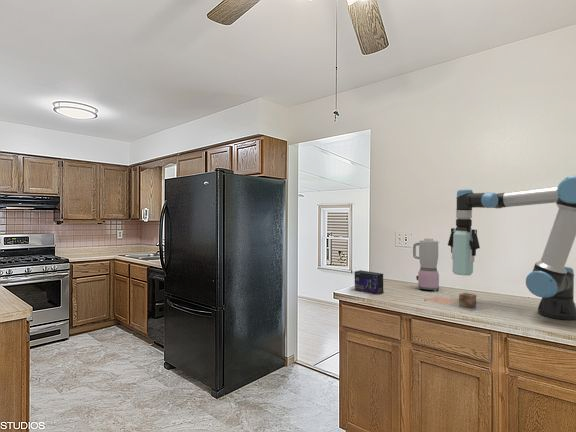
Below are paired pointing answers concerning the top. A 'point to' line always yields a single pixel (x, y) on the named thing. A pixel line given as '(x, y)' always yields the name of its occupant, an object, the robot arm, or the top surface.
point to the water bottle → (462, 252)
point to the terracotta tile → (441, 300)
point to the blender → (427, 264)
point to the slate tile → (468, 308)
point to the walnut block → (467, 300)
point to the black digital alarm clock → (369, 282)
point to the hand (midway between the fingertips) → (462, 260)
